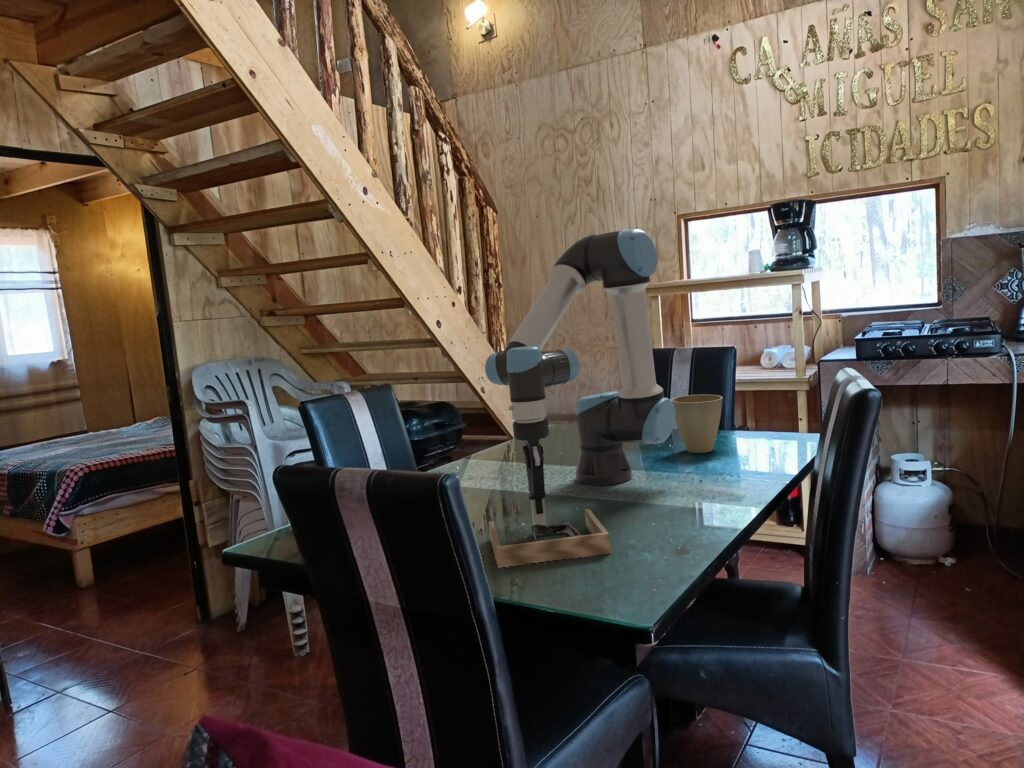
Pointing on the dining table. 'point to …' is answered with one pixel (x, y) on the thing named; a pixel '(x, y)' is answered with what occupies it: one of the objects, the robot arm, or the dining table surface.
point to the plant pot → (698, 420)
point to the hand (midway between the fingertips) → (540, 526)
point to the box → (553, 546)
